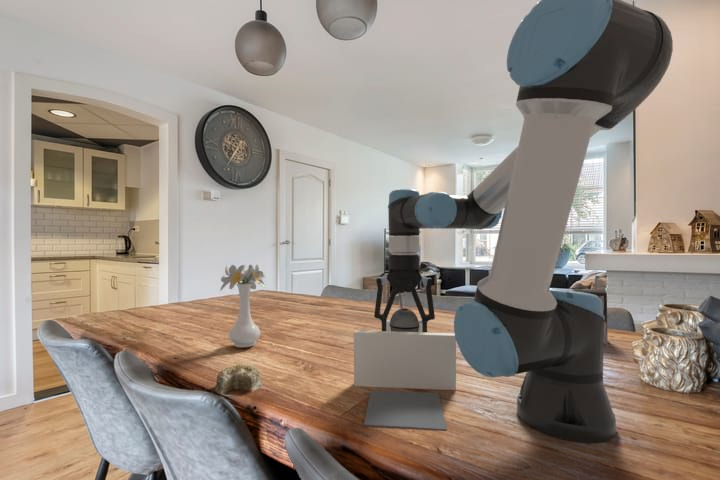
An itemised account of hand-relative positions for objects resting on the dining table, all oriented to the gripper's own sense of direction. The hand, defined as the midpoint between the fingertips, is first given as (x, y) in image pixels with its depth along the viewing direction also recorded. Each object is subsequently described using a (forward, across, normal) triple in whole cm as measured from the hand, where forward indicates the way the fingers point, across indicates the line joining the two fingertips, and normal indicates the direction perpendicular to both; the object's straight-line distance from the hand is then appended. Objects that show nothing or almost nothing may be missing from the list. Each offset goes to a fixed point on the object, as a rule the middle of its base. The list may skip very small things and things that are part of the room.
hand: (404, 347), depth 87 cm
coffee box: (+6, -60, -35) cm, 69 cm away
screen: (+6, 0, +9) cm, 11 cm away
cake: (+7, +36, +13) cm, 39 cm away
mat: (+6, 0, +20) cm, 21 cm away
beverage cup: (+6, 0, 0) cm, 6 cm away
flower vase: (+6, +50, -18) cm, 53 cm away
